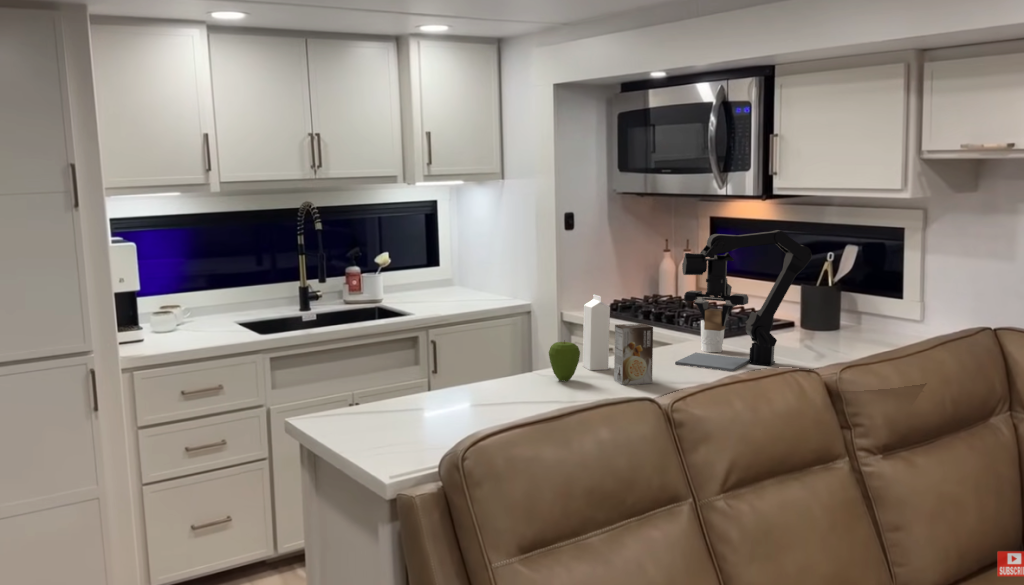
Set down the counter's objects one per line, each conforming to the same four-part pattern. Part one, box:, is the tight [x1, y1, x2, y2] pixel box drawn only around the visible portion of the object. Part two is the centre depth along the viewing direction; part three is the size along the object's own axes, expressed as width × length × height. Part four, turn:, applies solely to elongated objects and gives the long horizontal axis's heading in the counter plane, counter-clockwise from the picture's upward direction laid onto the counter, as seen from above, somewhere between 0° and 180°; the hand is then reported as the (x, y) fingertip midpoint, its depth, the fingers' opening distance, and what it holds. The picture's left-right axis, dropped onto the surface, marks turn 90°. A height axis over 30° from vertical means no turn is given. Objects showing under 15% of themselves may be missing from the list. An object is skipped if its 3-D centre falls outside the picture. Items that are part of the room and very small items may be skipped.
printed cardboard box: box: [613, 323, 654, 386], centre depth 244 cm, size 9×6×16 cm
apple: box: [548, 339, 581, 382], centre depth 245 cm, size 9×8×12 cm
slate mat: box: [675, 352, 750, 372], centre depth 272 cm, size 18×18×1 cm
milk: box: [582, 294, 611, 371], centre depth 261 cm, size 6×6×22 cm
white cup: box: [700, 319, 725, 353], centre depth 291 cm, size 8×8×10 cm
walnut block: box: [704, 308, 726, 331], centre depth 271 cm, size 5×5×6 cm
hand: (714, 325), depth 271 cm, fingers closed on walnut block, 5 cm apart
